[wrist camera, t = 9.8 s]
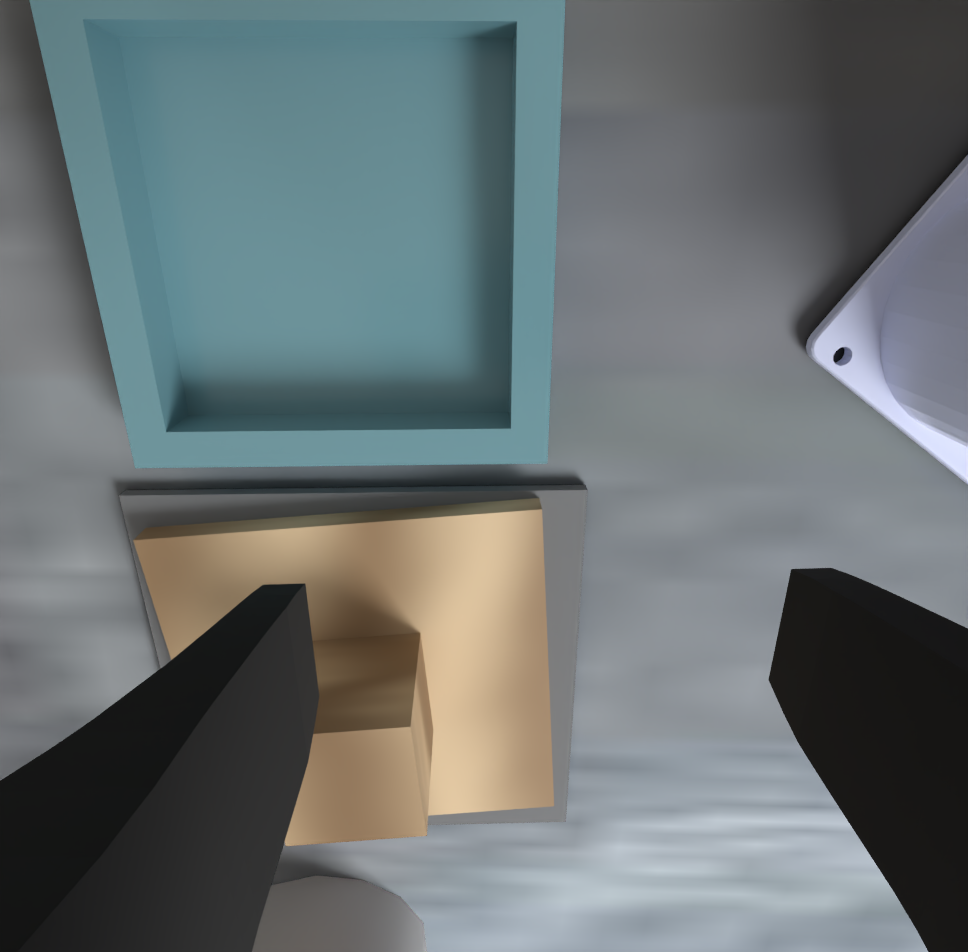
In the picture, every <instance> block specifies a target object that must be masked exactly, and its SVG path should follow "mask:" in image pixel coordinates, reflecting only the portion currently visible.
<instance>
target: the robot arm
mask: <svg viewBox="0 0 968 952" xmlns="http://www.w3.org/2000/svg"><path fill="white" fill-rule="evenodd" d="M841 347H843V348H844V349H845V350H844V356H843V357H842V359H841V360H839V361H838V362H834V361H833V355H834V354H835V352H836V351H837V350H838V349H839V348H841ZM806 350H807V354H808V355H809V356H810V358H811V359H813V360H814V361H815V362H816V363H818V364H819V365H820V366H821V367H822V368H824V369H825V370H826V371H827V372H829V373H830V374H831V375H832V376H834V377H835V378H836V379H837V380H839V381H840V382H841V383H842V384H844V385H845V386H846V387H847V388H848V389H850V390H851V391H852V392H853V393H855V394H856V395H857V396H858V397H860V398H861V399H862V400H863V401H865V402H866V403H867V404H868V405H870V406H871V407H872V408H873V409H875V410H876V411H877V412H878V413H879V414H881V415H882V416H883V417H884V418H886V419H887V420H888V421H889V422H891V423H892V424H893V425H894V426H896V427H897V428H898V429H899V430H901V431H902V432H903V433H904V434H906V435H907V436H908V437H909V438H910V439H912V440H913V441H914V442H915V443H917V444H918V445H919V446H920V447H922V448H923V449H924V450H925V451H927V452H928V453H929V454H930V455H932V456H933V457H934V458H935V459H936V460H938V461H939V462H940V463H941V464H943V465H944V466H945V467H946V468H948V469H949V470H950V471H951V472H953V473H954V474H955V475H956V476H958V477H959V478H960V479H961V480H963V481H964V482H965V483H966V484H967V485H968V155H967V156H966V157H965V158H964V160H963V161H962V162H961V163H960V164H959V165H958V166H957V168H956V169H955V170H954V171H953V172H952V173H951V174H950V176H949V177H948V178H947V179H946V180H945V181H944V182H943V184H942V185H941V186H940V187H939V188H938V189H937V190H936V192H935V193H934V194H933V195H932V196H931V197H930V198H929V200H928V201H927V202H926V203H925V204H924V205H923V206H922V208H921V209H920V210H919V211H918V212H917V213H916V214H915V216H914V217H913V218H912V219H911V220H910V221H909V222H908V224H907V225H906V226H905V227H904V228H903V229H902V230H901V232H900V233H899V234H898V235H897V236H896V237H895V238H894V240H893V241H892V242H891V243H890V244H889V245H888V246H887V248H886V249H885V250H884V251H883V252H882V253H881V254H880V256H879V257H878V258H877V259H876V260H875V261H874V262H873V264H872V265H871V266H870V267H869V268H868V269H867V270H866V272H865V273H864V274H863V275H862V276H861V277H860V278H859V280H858V281H857V282H856V283H855V284H854V285H853V286H852V288H851V289H850V290H849V291H848V292H847V293H846V294H845V296H844V297H843V298H842V299H841V300H840V301H839V303H838V304H837V305H836V306H835V307H834V308H833V309H832V311H831V312H830V313H829V314H828V315H827V316H826V317H825V319H824V320H823V321H822V322H821V323H820V324H819V325H818V327H817V328H816V329H815V330H814V331H813V332H812V333H811V335H810V337H809V338H808V340H807V344H806ZM769 682H770V684H771V686H772V688H773V690H774V693H775V695H776V697H777V699H778V702H779V704H780V706H781V708H782V711H783V713H784V715H785V717H786V719H787V721H788V723H789V725H790V727H791V729H792V731H793V733H794V735H795V737H796V739H797V741H798V743H799V745H800V746H801V748H802V749H803V751H804V753H805V754H806V756H807V758H808V759H809V761H810V762H811V764H812V765H813V767H814V769H815V770H816V772H817V773H818V775H819V777H820V778H821V780H822V781H823V783H824V784H825V786H826V788H827V789H828V791H829V792H830V794H831V795H832V797H833V798H834V800H835V802H836V803H837V805H838V806H839V808H840V809H841V811H842V812H843V814H844V815H845V817H846V818H847V820H848V822H849V823H850V825H851V826H852V828H853V829H854V831H855V832H856V834H857V835H858V837H859V839H860V840H861V842H862V843H863V845H864V846H865V848H866V849H867V851H868V852H869V854H870V855H871V857H872V859H873V860H874V862H875V863H876V865H877V866H878V868H879V869H880V871H881V872H882V874H883V876H884V877H885V879H886V880H887V882H888V883H889V885H890V886H891V888H892V889H893V891H894V893H895V894H896V896H897V898H898V899H899V901H900V903H901V904H902V906H903V908H904V909H905V911H906V913H907V914H908V916H909V918H910V919H911V921H912V923H913V924H914V926H915V928H916V929H917V931H918V933H919V935H920V937H921V939H922V940H923V942H924V944H925V946H926V948H927V950H928V952H968V628H965V627H963V626H961V625H959V624H957V623H955V622H953V621H951V620H948V619H946V618H944V617H942V616H940V615H938V614H936V613H934V612H931V611H929V610H927V609H925V608H923V607H921V606H919V605H917V604H914V603H912V602H910V601H908V600H906V599H904V598H902V597H900V596H897V595H895V594H893V593H891V592H889V591H887V590H884V589H882V588H880V587H878V586H875V585H873V584H871V583H869V582H866V581H864V580H862V579H859V578H857V577H854V576H852V575H849V574H847V573H844V572H841V571H838V570H836V569H833V568H814V569H791V573H790V578H789V583H788V588H787V593H786V598H785V603H784V608H783V612H782V617H781V622H780V627H779V632H778V637H777V642H776V647H775V651H774V656H773V661H772V666H771V671H770V676H769ZM318 702H319V689H318V681H317V673H316V665H315V657H314V649H313V641H312V633H311V625H310V617H309V609H308V601H307V593H306V584H305V583H302V584H268V585H262V586H260V587H259V588H258V589H256V590H255V591H254V592H252V593H251V594H250V595H249V596H248V597H246V598H245V599H244V600H243V601H241V602H240V603H239V604H238V605H237V606H236V607H234V608H233V609H232V610H231V611H230V612H228V613H227V614H226V615H225V616H224V617H223V618H221V619H220V620H219V621H218V622H217V623H215V624H214V625H213V626H212V627H211V628H210V629H208V630H207V631H206V632H205V633H204V634H202V635H201V636H200V637H199V638H197V639H196V640H195V641H194V642H193V643H191V644H190V645H189V646H188V647H187V648H185V649H184V650H183V651H182V652H181V653H179V654H178V655H177V656H176V657H174V658H173V659H172V660H171V661H170V662H168V663H167V664H166V665H165V666H163V667H162V668H161V669H160V670H158V671H157V672H156V673H154V674H153V675H152V676H150V677H149V678H148V679H146V680H145V681H144V682H142V683H141V684H140V685H138V686H137V687H136V688H134V689H133V690H132V691H130V692H129V693H128V694H126V695H125V696H124V697H122V698H121V699H120V700H118V701H117V702H116V703H114V704H113V705H112V706H110V707H109V708H108V709H106V710H105V711H104V712H102V713H101V714H100V715H98V716H97V717H96V718H94V719H93V720H92V721H90V722H89V723H87V724H86V725H84V726H83V727H82V728H80V729H79V730H77V731H76V732H74V733H73V734H72V735H70V736H69V737H67V738H66V739H64V740H63V741H61V742H60V743H58V744H57V745H55V746H54V747H52V748H51V749H49V750H48V751H46V752H45V753H43V754H41V755H40V756H38V757H37V758H35V759H34V760H32V761H31V762H29V763H27V764H26V765H24V766H23V767H21V768H20V769H18V770H16V771H15V772H13V773H12V774H10V775H9V776H7V777H6V778H4V779H2V780H1V781H0V952H252V950H253V946H254V942H255V938H256V935H257V931H258V927H259V924H260V920H261V917H262V914H263V910H264V907H265V904H266V901H267V897H268V894H269V891H270V887H271V884H272V881H273V878H274V874H275V871H276V868H277V864H278V861H279V858H280V855H281V851H282V848H283V845H284V841H285V838H286V835H287V832H288V828H289V825H290V822H291V818H292V815H293V812H294V808H295V805H296V802H297V798H298V795H299V792H300V788H301V785H302V782H303V778H304V775H305V771H306V768H307V764H308V760H309V755H310V749H311V744H312V738H313V733H314V727H315V721H316V715H317V708H318Z"/></svg>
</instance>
